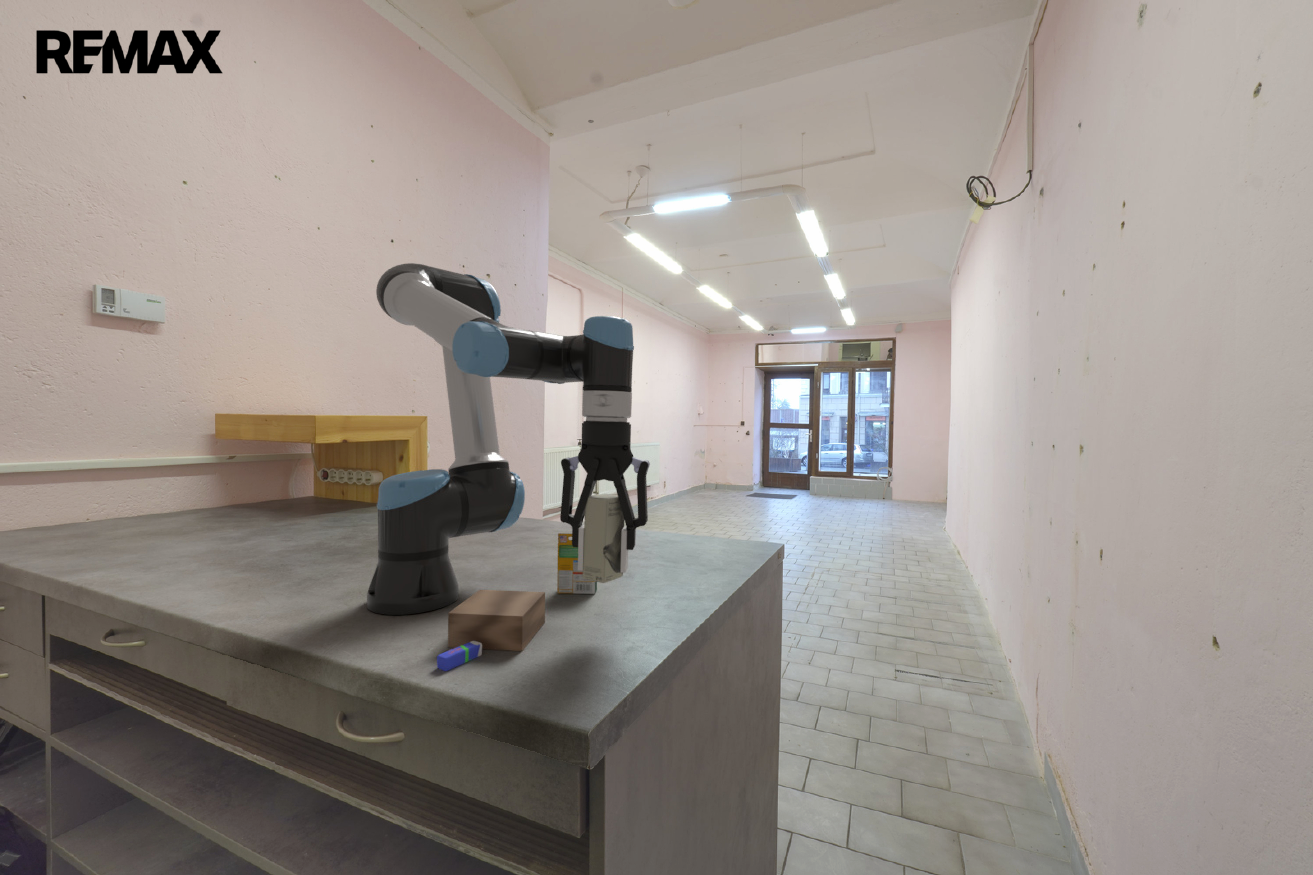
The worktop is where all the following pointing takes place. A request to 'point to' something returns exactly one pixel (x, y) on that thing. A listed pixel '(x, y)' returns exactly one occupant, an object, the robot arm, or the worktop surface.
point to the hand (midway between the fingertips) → (603, 568)
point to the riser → (497, 619)
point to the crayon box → (571, 569)
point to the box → (602, 538)
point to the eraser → (459, 655)
